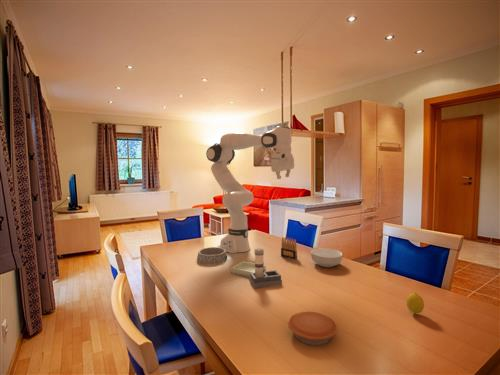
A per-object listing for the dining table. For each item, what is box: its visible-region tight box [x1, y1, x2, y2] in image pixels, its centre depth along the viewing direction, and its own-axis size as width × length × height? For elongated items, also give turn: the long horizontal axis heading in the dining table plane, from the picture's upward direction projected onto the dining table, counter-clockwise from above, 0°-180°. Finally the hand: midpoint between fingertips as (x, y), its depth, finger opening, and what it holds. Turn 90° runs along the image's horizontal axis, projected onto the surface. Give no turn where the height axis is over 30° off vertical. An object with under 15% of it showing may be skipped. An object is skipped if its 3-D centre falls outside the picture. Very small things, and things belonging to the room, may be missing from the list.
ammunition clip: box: [280, 236, 298, 260], centre depth 168 cm, size 11×2×12 cm, turn 47°
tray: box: [230, 260, 266, 278], centre depth 147 cm, size 14×12×3 cm
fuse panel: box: [249, 269, 283, 289], centre depth 133 cm, size 13×9×4 cm
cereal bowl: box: [310, 247, 343, 268], centre depth 155 cm, size 17×17×7 cm
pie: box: [287, 311, 338, 346], centre depth 92 cm, size 16×16×5 cm
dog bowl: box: [196, 246, 228, 265], centre depth 167 cm, size 17×18×5 cm
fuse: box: [254, 248, 265, 278], centre depth 132 cm, size 4×4×14 cm
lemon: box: [406, 292, 425, 315], centre depth 103 cm, size 6×6×8 cm
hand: (283, 177), depth 166 cm, fingers open, 8 cm apart
